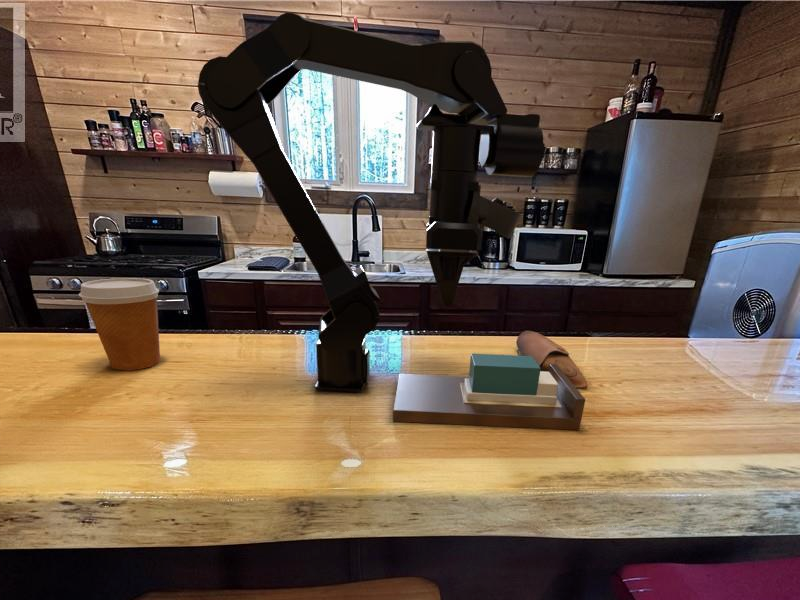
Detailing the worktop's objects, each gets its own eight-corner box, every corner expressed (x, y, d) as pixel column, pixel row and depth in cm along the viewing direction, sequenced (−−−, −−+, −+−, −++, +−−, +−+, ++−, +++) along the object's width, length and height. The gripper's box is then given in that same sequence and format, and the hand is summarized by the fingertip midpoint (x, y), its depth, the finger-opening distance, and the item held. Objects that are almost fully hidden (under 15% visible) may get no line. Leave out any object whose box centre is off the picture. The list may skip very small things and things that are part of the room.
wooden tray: (392, 421, 51) (393, 390, 49) (399, 383, 62) (399, 356, 61) (579, 430, 51) (585, 399, 49) (552, 390, 62) (556, 364, 60)
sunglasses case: (593, 386, 62) (576, 346, 60) (547, 406, 64) (529, 368, 62) (561, 348, 79) (547, 317, 77) (525, 365, 81) (510, 334, 79)
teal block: (467, 400, 54) (470, 365, 52) (464, 385, 58) (466, 352, 56) (555, 404, 53) (562, 369, 52) (545, 388, 58) (551, 356, 56)
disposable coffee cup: (184, 361, 67) (171, 282, 62) (118, 379, 59) (96, 291, 55) (151, 349, 71) (136, 275, 67) (85, 364, 64) (63, 282, 59)
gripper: (537, 169, 45) (517, 317, 51) (506, 180, 62) (494, 289, 68) (429, 165, 45) (423, 313, 51) (429, 176, 62) (424, 286, 68)
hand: (446, 299), depth 59 cm, fingers open, 9 cm apart
